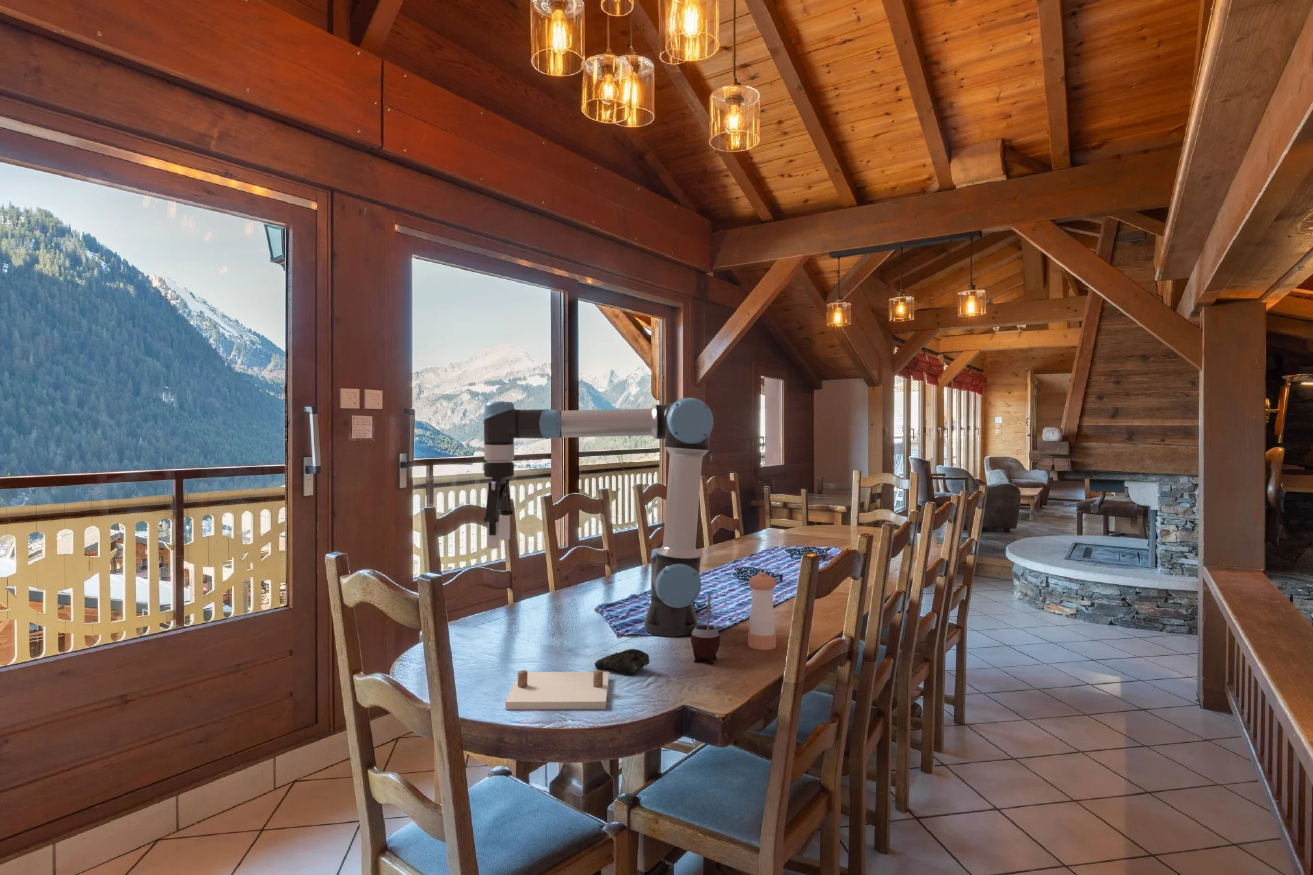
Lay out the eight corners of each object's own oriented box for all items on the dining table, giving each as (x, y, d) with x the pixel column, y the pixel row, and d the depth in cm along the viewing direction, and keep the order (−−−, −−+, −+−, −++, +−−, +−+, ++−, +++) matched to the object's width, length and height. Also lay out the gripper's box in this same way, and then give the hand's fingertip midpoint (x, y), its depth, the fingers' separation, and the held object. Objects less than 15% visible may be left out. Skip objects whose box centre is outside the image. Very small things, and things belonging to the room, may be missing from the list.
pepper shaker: (779, 643, 180) (779, 571, 180) (771, 651, 173) (772, 576, 173) (752, 640, 183) (753, 568, 183) (744, 647, 176) (744, 573, 176)
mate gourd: (700, 667, 161) (700, 604, 161) (683, 657, 168) (684, 596, 168) (726, 662, 165) (727, 600, 165) (709, 653, 172) (710, 593, 172)
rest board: (609, 678, 154) (609, 658, 153) (605, 708, 137) (605, 686, 136) (519, 678, 153) (520, 658, 153) (505, 709, 136) (505, 686, 136)
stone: (601, 663, 165) (601, 641, 165) (653, 668, 160) (653, 646, 160) (590, 672, 158) (589, 649, 158) (644, 678, 154) (643, 655, 154)
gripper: (495, 459, 188) (495, 536, 188) (472, 463, 163) (472, 552, 163) (522, 459, 188) (522, 536, 188) (503, 463, 163) (503, 552, 163)
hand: (499, 543), depth 176 cm, fingers open, 13 cm apart
